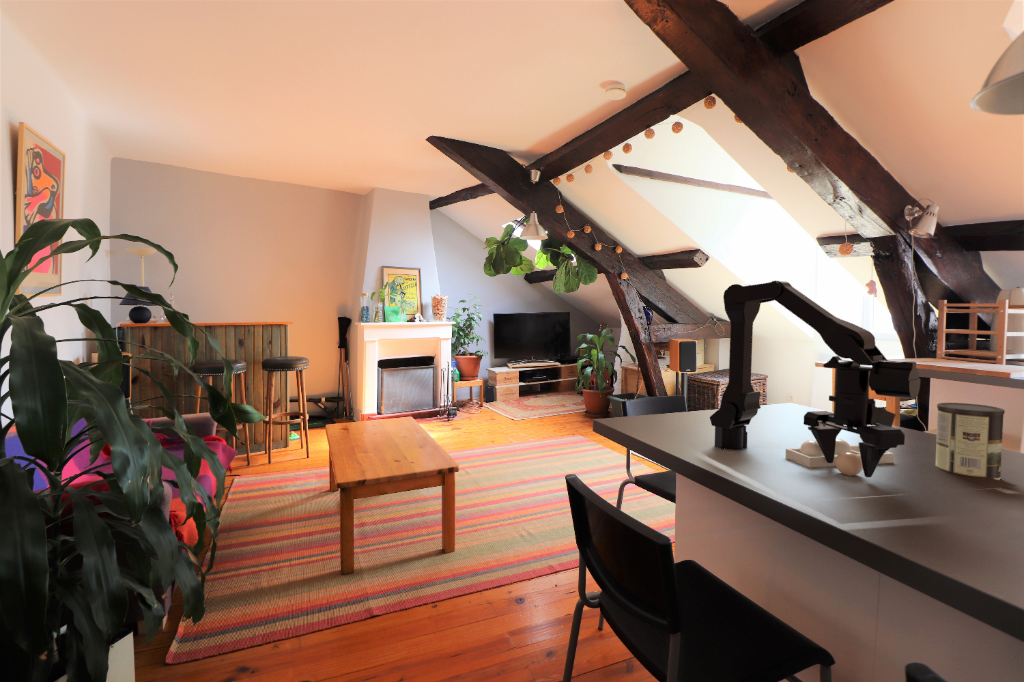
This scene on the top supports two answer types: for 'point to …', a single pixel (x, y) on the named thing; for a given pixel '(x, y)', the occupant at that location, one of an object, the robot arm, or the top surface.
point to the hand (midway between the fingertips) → (848, 469)
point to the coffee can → (969, 439)
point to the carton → (821, 461)
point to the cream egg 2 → (842, 447)
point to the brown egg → (848, 464)
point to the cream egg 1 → (811, 449)
